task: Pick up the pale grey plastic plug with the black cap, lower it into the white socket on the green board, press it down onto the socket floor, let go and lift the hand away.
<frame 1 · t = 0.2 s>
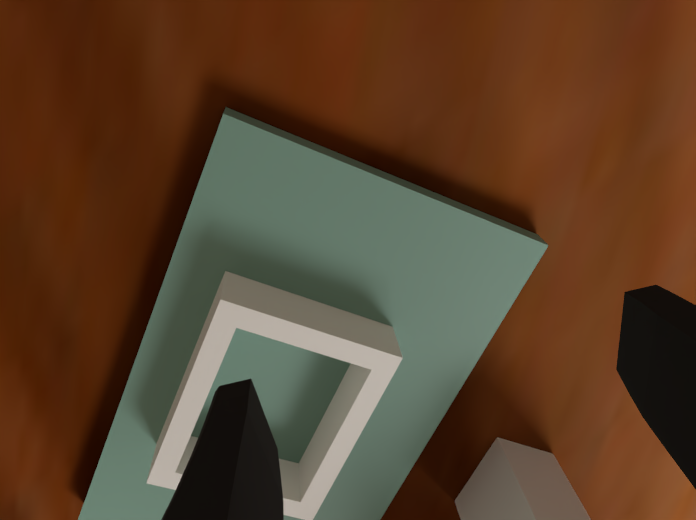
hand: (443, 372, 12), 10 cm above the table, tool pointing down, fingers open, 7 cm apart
socket board: (295, 378, 24), on the table
plug: (503, 477, 28), on the table
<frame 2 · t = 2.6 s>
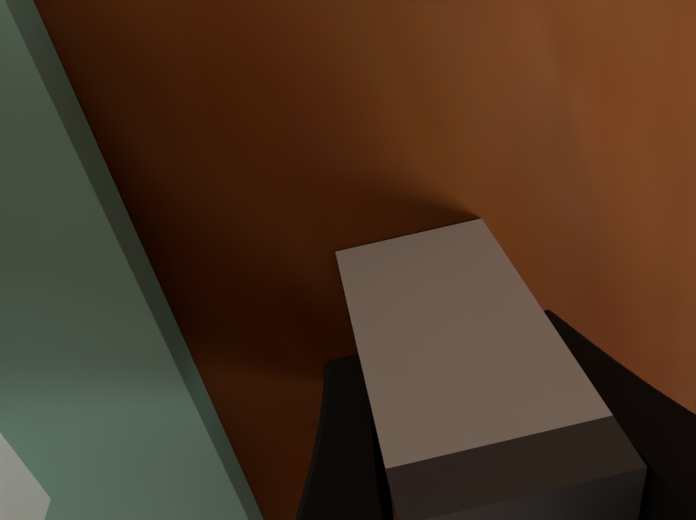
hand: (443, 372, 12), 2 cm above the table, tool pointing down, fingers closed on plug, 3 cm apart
plug: (419, 311, 13), on the table, touching gripper
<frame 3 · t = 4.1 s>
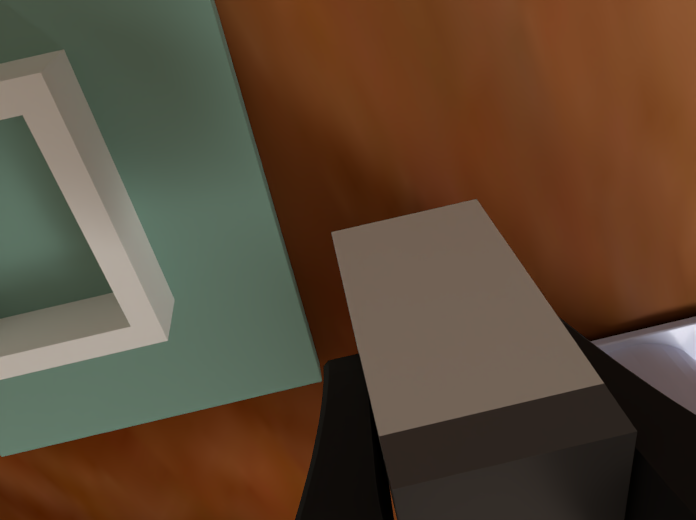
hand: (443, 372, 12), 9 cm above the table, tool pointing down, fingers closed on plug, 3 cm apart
socket board: (59, 192, 18), on the table
plug: (415, 293, 13), point 7 cm above the table, touching gripper
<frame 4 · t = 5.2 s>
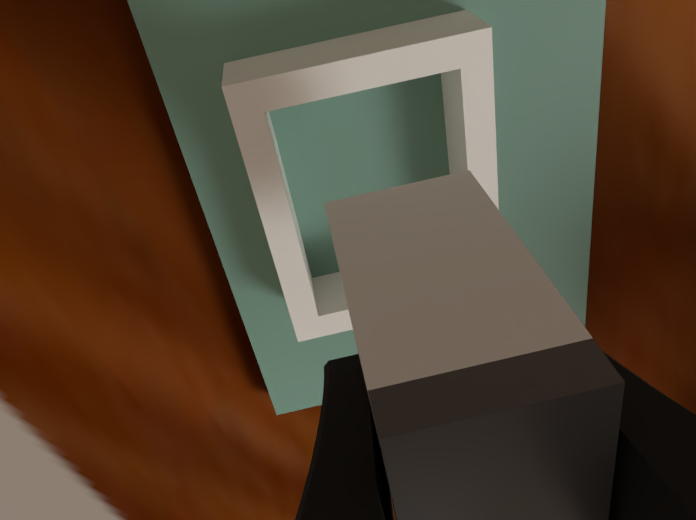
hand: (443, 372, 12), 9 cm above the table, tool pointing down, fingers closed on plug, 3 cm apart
socket board: (395, 153, 19), on the table
plug: (408, 266, 13), point 6 cm above the table, touching gripper
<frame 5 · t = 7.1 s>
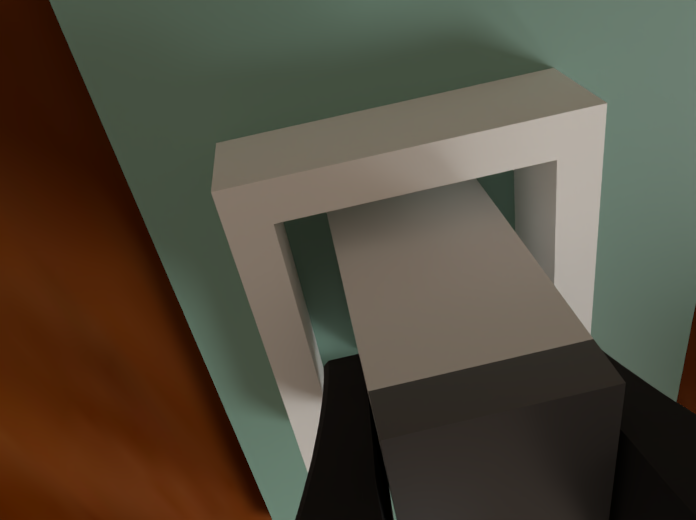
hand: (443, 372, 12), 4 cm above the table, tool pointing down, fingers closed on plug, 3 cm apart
socket board: (442, 243, 14), on the table
plug: (408, 266, 13), point 1 cm above the table, touching gripper, socket board
when the fingers open (4 cm above the table, at t = 8.1 s): plug stays where it is, resting on socket board.
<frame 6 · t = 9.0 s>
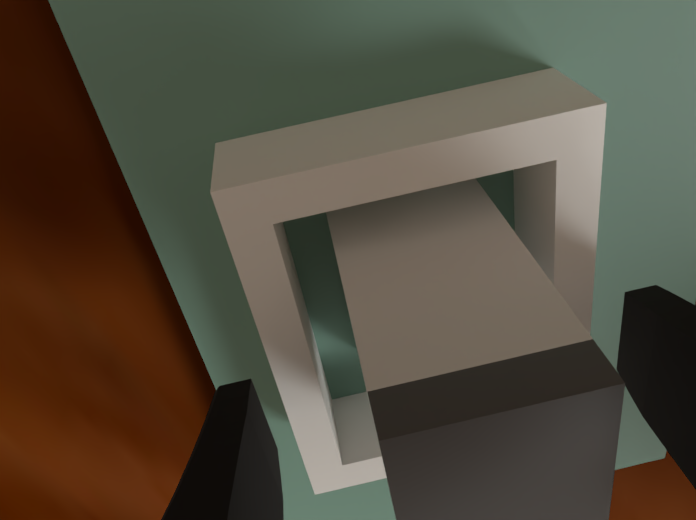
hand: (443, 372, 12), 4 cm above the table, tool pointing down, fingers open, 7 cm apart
socket board: (441, 243, 14), on the table
plug: (408, 266, 13), point 1 cm above the table, touching socket board
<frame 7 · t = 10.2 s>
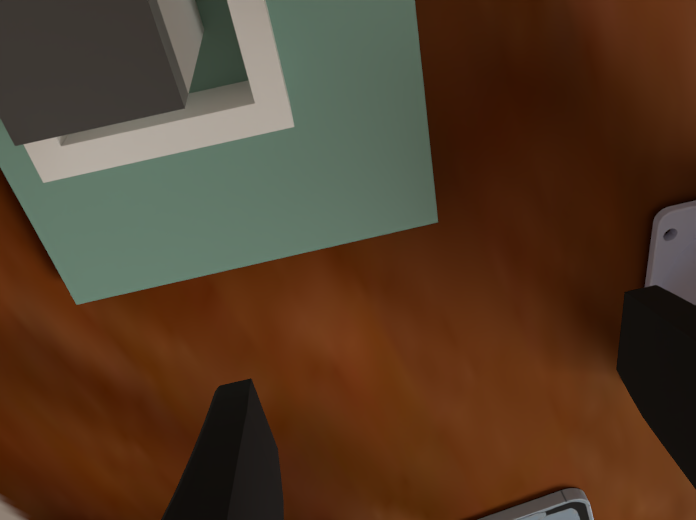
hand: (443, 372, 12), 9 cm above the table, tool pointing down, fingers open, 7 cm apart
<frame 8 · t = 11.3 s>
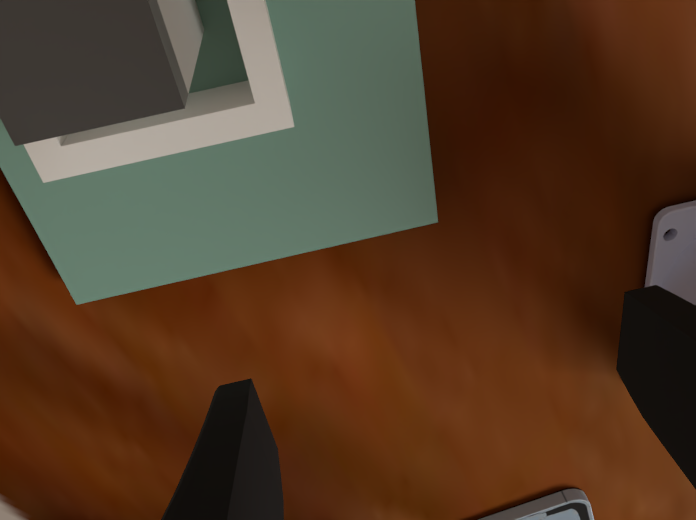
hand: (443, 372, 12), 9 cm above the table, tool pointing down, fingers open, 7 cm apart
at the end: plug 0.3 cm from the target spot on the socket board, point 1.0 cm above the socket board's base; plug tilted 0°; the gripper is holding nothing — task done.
